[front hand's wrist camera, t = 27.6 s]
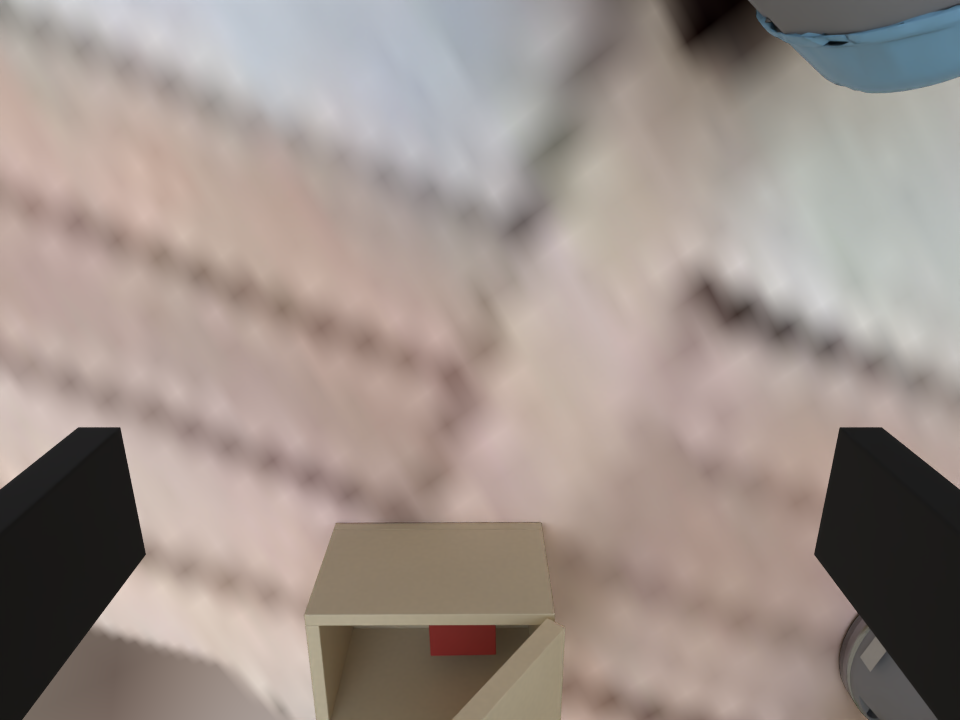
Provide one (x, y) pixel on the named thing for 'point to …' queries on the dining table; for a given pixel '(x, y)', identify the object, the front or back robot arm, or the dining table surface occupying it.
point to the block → (462, 640)
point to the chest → (419, 614)
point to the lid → (524, 681)
